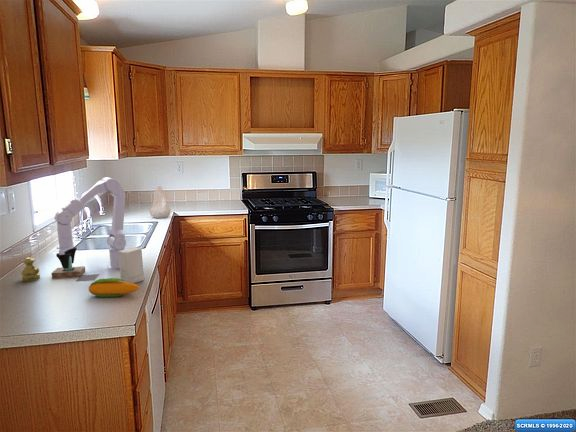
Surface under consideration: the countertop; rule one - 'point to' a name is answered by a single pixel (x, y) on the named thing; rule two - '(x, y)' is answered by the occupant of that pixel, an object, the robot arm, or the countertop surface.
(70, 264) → the peg
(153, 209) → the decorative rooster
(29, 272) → the olive yellow figurine
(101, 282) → the corn
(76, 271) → the hole block
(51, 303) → the countertop surface
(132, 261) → the skincare box
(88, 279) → the mat
